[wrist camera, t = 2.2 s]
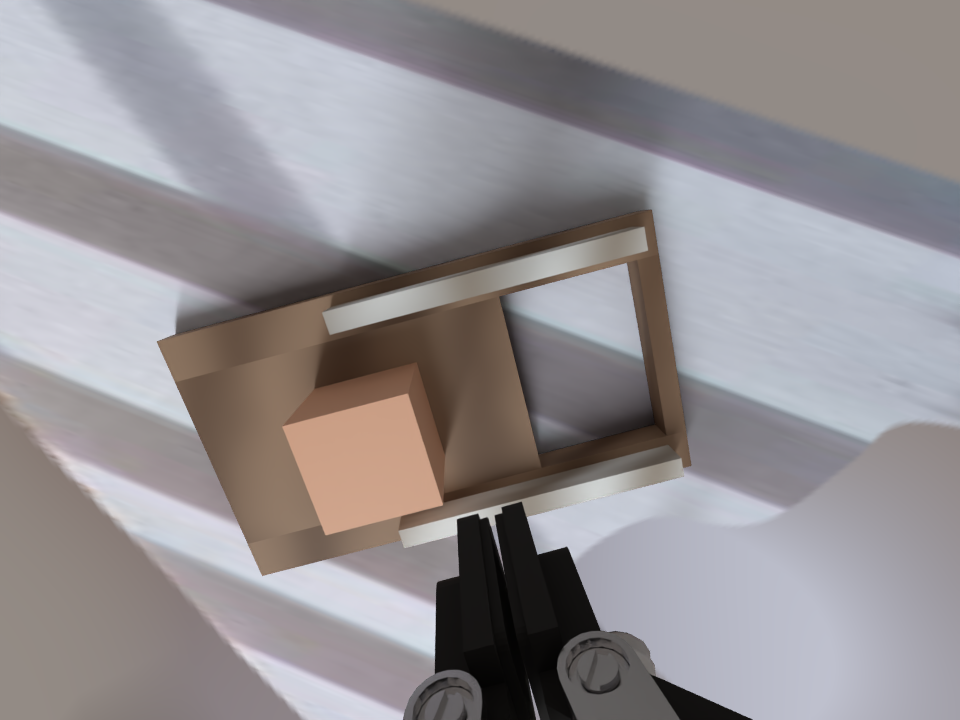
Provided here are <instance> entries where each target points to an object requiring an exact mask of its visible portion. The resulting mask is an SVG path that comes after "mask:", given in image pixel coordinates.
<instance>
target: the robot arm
mask: <svg viewBox="0 0 960 720" xmlns="http://www.w3.org/2000/svg"><path fill="white" fill-rule="evenodd" d="M501 509H502V513H501V514H497V515H494V516H495V522H496V528H497V533H498V539H499V544H500V550H501V555H502V561H503V567H504V570H503V567H502V563H501V560H500V556H499V553H498V550H497V546H496V543H495V539H494V536H493V532H492V529H491V525H490V522H489V519H488V517H486V518H482V519H480V517H479V514H478V513H477V514H474V515H470V516H466V517H463V518H459V519H457V536H458V557H459V576H457V577H454V578H450V579H446V580H443V581H439V582H438V583H437V587H436V637H435V675H433V676H431V677H429V678H428V679H426V680H425V681H424V682H423V683H422V684H421V685H419V686H418V687H417V688H416V690H415V691H414V693H413V694H412V696H411V697H410V699H409V701H408V704H407V707H406V709H405V713H404V717H403V720H536V717H535V712H534V706H533V701H532V696H531V691H530V686H531V689H532V693H533V696H534V699H535V703H536V706H537V710H538V713H539V716H540V720H752V719H750V718H748V717H746V716H743V715H741V714H739V713H737V712H734V711H732V710H730V709H728V708H725V707H723V706H721V705H719V704H716V703H714V702H712V701H710V700H707V699H705V698H703V697H701V696H698V695H696V694H694V693H692V692H690V691H687V690H685V689H683V688H680V687H678V686H676V685H674V684H672V683H669V682H667V681H665V680H663V679H660V678H658V677H656V676H654V675H651V674H649V672H648V671H647V669H646V668H645V666H644V664H643V663H642V661H641V660H640V658H639V657H638V655H637V654H636V652H635V651H634V649H633V648H632V647H631V646H630V645H629V644H628V643H627V642H626V640H624V639H622V638H621V637H619V636H617V635H616V634H613V633H609V632H605V631H601V630H600V628H599V625H598V623H597V620H596V618H595V615H594V613H593V610H592V607H591V605H590V602H589V600H588V597H587V595H586V592H585V590H584V587H583V585H582V582H581V580H580V577H579V574H578V572H577V569H576V567H575V564H574V562H573V559H572V557H571V554H570V552H569V549H568V547H565V548H561V549H557V550H553V551H550V552H546V553H542V554H539V555H537V552H536V548H535V545H534V541H533V538H532V535H531V531H530V528H529V524H528V521H527V517H526V514H525V510H524V507H523V504H522V502H518V503H514V504H511V505H507V506H503V507H501ZM504 572H505V574H504ZM528 679H529V680H528ZM529 683H530V685H529Z"/></svg>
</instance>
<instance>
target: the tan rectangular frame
mask: <svg viewBox="0 0 960 720" xmlns="http://www.w3.org/2000/svg"><path fill="white" fill-rule="evenodd" d="M624 263H627V265H628V271H629V277H630V283H631V289H632V294H633V300H634V306H635V312H636V318H637V323H638V329H639V335H640V341H641V346H642V352H643V358H644V364H645V370H646V375H647V381H648V387H649V393H650V399H651V404H652V410H653V416H654V422H655V425H651V426H647V427H643V428H639V429H635V430H632V431H628V432H624V433H620V434H616V435H612V436H608V437H604V438H601V439H597V440H593V441H589V442H585V443H581V444H577V445H574V446H570V447H566V448H562V449H558V450H554V451H550V452H546V453H543V454H539V455H538V452H537V448H536V444H535V440H534V436H533V432H532V428H531V423H530V419H529V415H528V411H527V407H526V403H525V399H524V395H523V391H522V387H521V383H520V379H519V375H518V371H517V367H516V363H515V359H514V355H513V351H512V347H511V343H510V339H509V335H508V331H507V327H506V322H505V318H504V314H503V310H502V306H501V302H500V298H499V296H503V295H507V294H510V293H514V292H518V291H522V290H525V289H529V288H533V287H537V286H541V285H544V284H548V283H552V282H556V281H560V280H563V279H567V278H571V277H575V276H578V275H582V274H586V273H590V272H594V271H597V270H601V269H605V268H609V267H612V266H616V265H620V264H624ZM157 343H158V346H159V348H160V350H161V352H162V354H163V357H164V359H165V361H166V363H167V365H168V368H169V370H170V372H171V374H172V377H173V379H174V381H175V383H176V385H177V388H178V390H179V392H180V394H181V397H182V399H183V401H184V403H185V405H186V408H187V410H188V412H189V414H190V417H191V419H192V421H193V423H194V425H195V428H196V430H197V432H198V434H199V437H200V439H201V441H202V443H203V445H204V448H205V450H206V452H207V454H208V457H209V459H210V461H211V463H212V465H213V468H214V470H215V472H216V474H217V477H218V479H219V481H220V483H221V485H222V488H223V490H224V492H225V494H226V497H227V499H228V501H229V503H230V505H231V508H232V510H233V512H234V514H235V517H236V519H237V521H238V523H239V525H240V528H241V530H242V532H243V534H244V537H245V539H246V541H247V543H248V545H249V548H250V550H251V552H252V554H253V556H254V559H255V561H256V563H257V565H258V568H259V570H260V572H261V574H262V576H264V575H267V574H271V573H275V572H279V571H283V570H287V569H291V568H295V567H299V566H303V565H306V564H310V563H314V562H318V561H322V560H326V559H330V558H334V557H338V556H342V555H345V554H349V553H353V552H357V551H361V550H365V549H369V548H373V547H377V546H381V545H384V544H388V543H392V542H396V541H400V540H402V543H403V546H404V548H407V547H411V546H415V545H419V544H423V543H426V542H430V541H434V540H438V539H442V538H446V537H450V536H454V535H457V519H459V518H463V517H466V516H470V515H474V514H477V513H478V514H479V517H480V519H482V518H486V517H488V519H489V522H490V525H491V526H493V525H496V522H495V516H494V515H497V514H501V513H502V509H501V507H503V506H507V505H511V504H514V503H518V502H522V504H523V507H524V510H525V514H526V517H528V516H532V515H536V514H540V513H544V512H547V511H551V510H555V509H559V508H563V507H567V506H571V505H575V504H579V503H583V502H586V501H590V500H594V499H598V498H602V497H606V496H610V495H614V494H618V493H622V492H625V491H629V490H633V489H637V488H641V487H645V486H649V485H653V484H657V483H661V482H664V481H668V480H672V479H676V478H680V477H684V472H683V468H685V467H688V466H691V460H690V453H689V447H688V440H687V434H686V427H685V421H684V415H683V408H682V402H681V395H680V389H679V382H678V376H677V369H676V363H675V356H674V350H673V343H672V337H671V331H670V324H669V318H668V311H667V305H666V298H665V292H664V285H663V279H662V272H661V266H660V259H659V253H658V246H657V240H656V234H655V227H654V221H653V214H652V210H643V211H637V212H633V213H629V214H625V215H622V216H618V217H614V218H610V219H607V220H603V221H599V222H595V223H592V224H588V225H584V226H580V227H577V228H573V229H569V230H565V231H562V232H558V233H554V234H550V235H547V236H543V237H539V238H535V239H532V240H528V241H524V242H520V243H517V244H513V245H509V246H505V247H502V248H498V249H494V250H490V251H487V252H483V253H479V254H475V255H472V256H468V257H464V258H460V259H457V260H453V261H449V262H445V263H442V264H438V265H434V266H430V267H427V268H423V269H419V270H415V271H412V272H408V273H404V274H400V275H397V276H393V277H389V278H385V279H382V280H378V281H374V282H370V283H367V284H363V285H359V286H355V287H352V288H348V289H344V290H340V291H337V292H333V293H329V294H325V295H322V296H318V297H314V298H310V299H307V300H303V301H299V302H295V303H292V304H288V305H284V306H280V307H276V308H273V309H269V310H265V311H261V312H258V313H254V314H250V315H246V316H243V317H239V318H235V319H231V320H228V321H224V322H220V323H216V324H213V325H209V326H205V327H201V328H198V329H194V330H190V331H186V332H183V333H179V334H175V335H172V336H170V337H167V338H165V339H162V340H160V341H157ZM415 362H417V365H418V369H419V372H420V375H421V378H422V382H423V385H424V388H425V392H426V395H427V398H428V401H429V405H430V408H431V411H432V414H433V418H434V421H435V424H436V428H437V431H438V434H439V437H440V441H441V444H442V447H443V451H444V454H445V471H444V496H443V505H442V506H438V507H434V508H430V509H426V510H423V511H419V512H415V513H411V514H407V515H403V516H399V517H395V518H391V519H388V520H384V521H380V522H376V523H372V524H368V525H364V526H360V527H356V528H353V529H349V530H345V531H341V532H337V533H333V534H329V535H325V533H324V530H323V528H322V525H321V523H320V520H319V518H318V515H317V513H316V510H315V508H314V505H313V503H312V500H311V498H310V495H309V493H308V490H307V488H306V485H305V483H304V480H303V478H302V475H301V473H300V470H299V468H298V465H297V463H296V460H295V457H294V455H293V452H292V450H291V447H290V445H289V442H288V440H287V437H286V435H285V432H284V430H283V427H282V426H283V425H284V424H285V422H286V421H287V420H288V419H289V418H290V417H291V415H292V414H293V413H294V412H295V411H296V410H297V409H298V407H299V406H300V405H301V404H302V403H303V402H304V400H305V399H306V398H307V397H308V396H309V395H310V393H311V392H312V391H313V390H314V389H316V388H320V387H324V386H328V385H332V384H335V383H339V382H343V381H347V380H351V379H354V378H358V377H362V376H366V375H370V374H373V373H377V372H381V371H385V370H389V369H392V368H396V367H400V366H404V365H408V364H411V363H415Z"/></svg>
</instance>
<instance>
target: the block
mask: <svg viewBox="0 0 960 720" xmlns="http://www.w3.org/2000/svg"><path fill="white" fill-rule="evenodd" d="M282 427H283V430H284V432H285V435H286V437H287V440H288V442H289V445H290V447H291V450H292V452H293V455H294V457H295V460H296V463H297V465H298V468H299V470H300V473H301V475H302V478H303V480H304V483H305V485H306V488H307V490H308V493H309V495H310V498H311V500H312V503H313V505H314V508H315V510H316V513H317V515H318V518H319V520H320V523H321V525H322V528H323V530H324V533H325V535H329V534H333V533H337V532H341V531H345V530H349V529H353V528H356V527H360V526H364V525H368V524H372V523H376V522H380V521H384V520H388V519H391V518H395V517H399V516H403V515H407V514H411V513H415V512H419V511H423V510H426V509H430V508H434V507H438V506H442V505H443V496H444V471H445V454H444V451H443V447H442V444H441V441H440V437H439V434H438V431H437V428H436V424H435V421H434V418H433V414H432V411H431V408H430V405H429V401H428V398H427V395H426V392H425V388H424V385H423V382H422V378H421V375H420V372H419V369H418V365H417V362H415V363H411V364H408V365H404V366H400V367H396V368H392V369H389V370H385V371H381V372H377V373H373V374H370V375H366V376H362V377H358V378H354V379H351V380H347V381H343V382H339V383H335V384H332V385H328V386H324V387H320V388H316V389H314V390H313V391H312V392H311V393H310V395H309V396H308V397H307V398H306V399H305V400H304V402H303V403H302V404H301V405H300V406H299V407H298V409H297V410H296V411H295V412H294V413H293V414H292V415H291V417H290V418H289V419H288V420H287V421H286V422H285V424H284V425H283V426H282Z"/></svg>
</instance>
